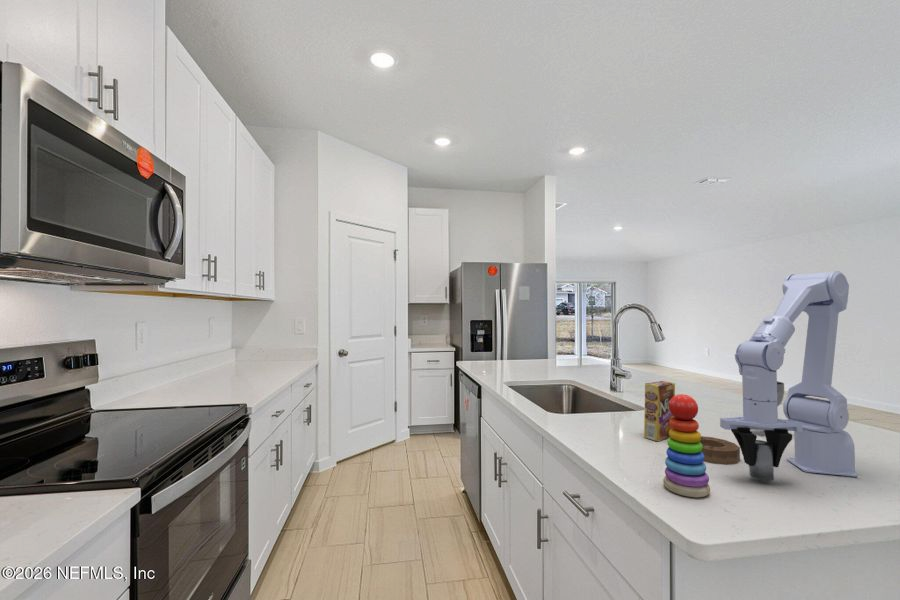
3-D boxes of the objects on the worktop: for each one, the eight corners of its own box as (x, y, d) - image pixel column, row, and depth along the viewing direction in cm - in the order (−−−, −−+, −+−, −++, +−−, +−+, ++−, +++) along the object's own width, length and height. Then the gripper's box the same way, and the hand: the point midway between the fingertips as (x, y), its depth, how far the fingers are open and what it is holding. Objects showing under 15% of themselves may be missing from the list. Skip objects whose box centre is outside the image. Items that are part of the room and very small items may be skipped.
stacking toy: (667, 478, 85) (666, 389, 85) (712, 488, 80) (711, 393, 80) (659, 491, 78) (657, 395, 79) (707, 503, 73) (705, 400, 74)
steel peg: (768, 474, 84) (767, 440, 85) (777, 481, 81) (776, 446, 81) (746, 472, 86) (745, 438, 86) (754, 479, 82) (753, 444, 82)
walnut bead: (728, 450, 101) (728, 438, 102) (747, 466, 91) (746, 453, 91) (680, 446, 105) (680, 434, 105) (692, 461, 94) (692, 448, 94)
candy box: (659, 442, 108) (658, 385, 108) (643, 438, 111) (643, 383, 112) (676, 436, 113) (675, 382, 113) (661, 432, 116) (660, 380, 117)
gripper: (785, 395, 86) (786, 459, 86) (712, 394, 88) (713, 456, 88) (809, 403, 79) (811, 472, 79) (729, 401, 81) (731, 468, 81)
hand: (761, 464), depth 83 cm, fingers closed on steel peg, 4 cm apart
